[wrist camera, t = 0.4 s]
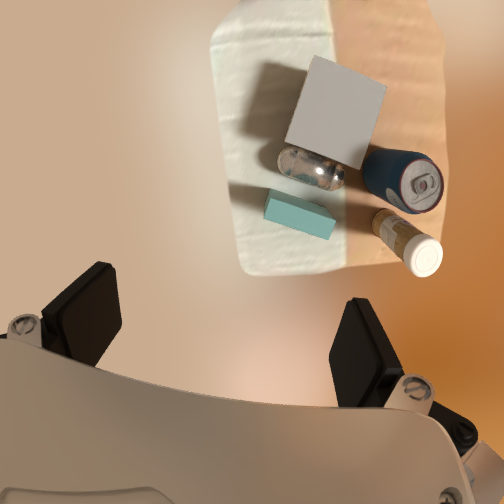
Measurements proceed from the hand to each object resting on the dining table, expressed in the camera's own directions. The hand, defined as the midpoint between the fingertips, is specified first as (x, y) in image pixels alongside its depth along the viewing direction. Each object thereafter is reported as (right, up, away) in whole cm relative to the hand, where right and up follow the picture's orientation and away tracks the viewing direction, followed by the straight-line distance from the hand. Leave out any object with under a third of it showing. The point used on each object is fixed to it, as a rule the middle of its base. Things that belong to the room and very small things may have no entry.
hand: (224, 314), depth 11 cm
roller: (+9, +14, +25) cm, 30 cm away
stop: (+7, +9, +28) cm, 30 cm away
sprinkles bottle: (+21, +7, +28) cm, 35 cm away
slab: (+11, +19, +19) cm, 29 cm away
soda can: (+19, +14, +25) cm, 35 cm away
